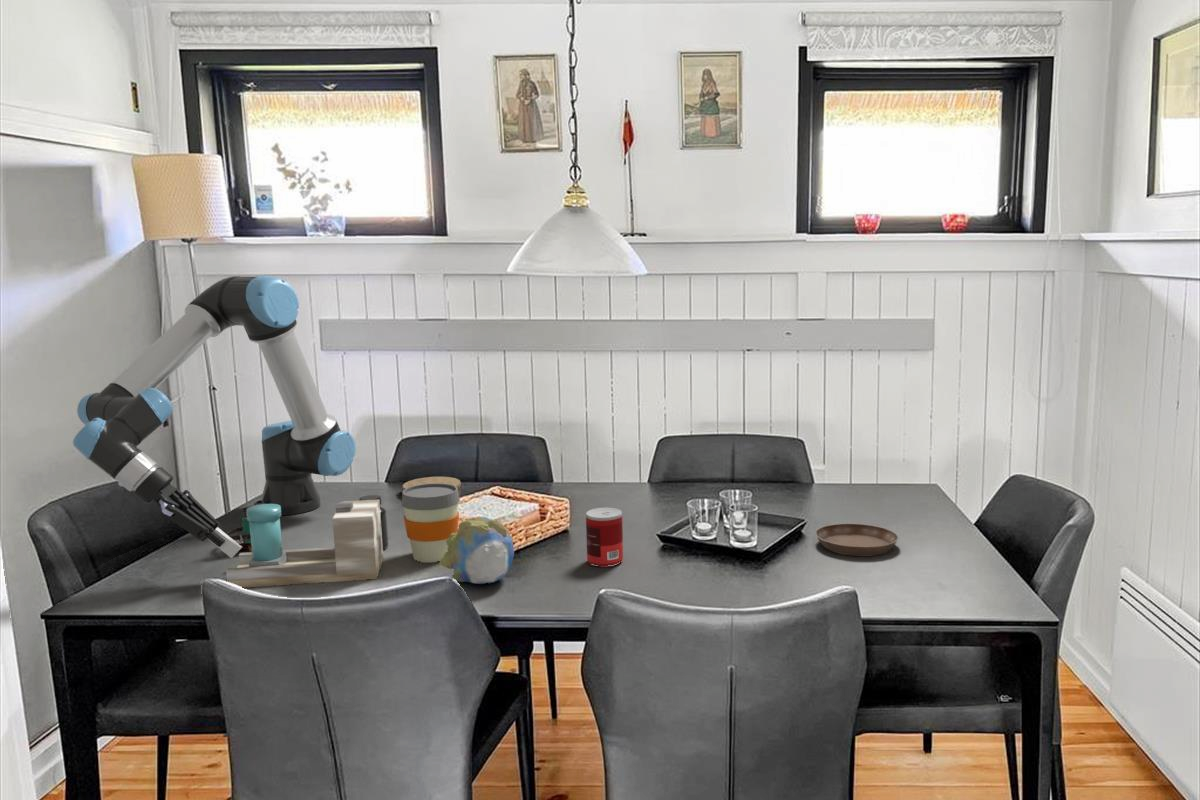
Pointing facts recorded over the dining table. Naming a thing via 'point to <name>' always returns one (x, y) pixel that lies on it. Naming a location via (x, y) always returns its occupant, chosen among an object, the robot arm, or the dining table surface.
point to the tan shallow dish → (433, 480)
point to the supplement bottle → (383, 519)
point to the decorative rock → (479, 551)
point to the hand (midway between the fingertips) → (236, 552)
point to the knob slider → (266, 535)
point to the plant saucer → (856, 539)
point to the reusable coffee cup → (430, 518)
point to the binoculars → (244, 531)
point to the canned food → (604, 536)
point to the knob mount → (326, 553)
